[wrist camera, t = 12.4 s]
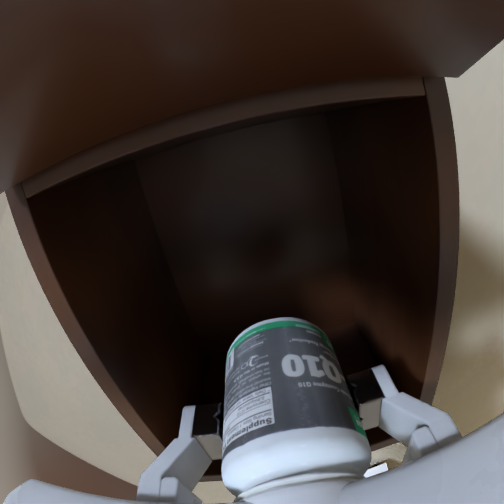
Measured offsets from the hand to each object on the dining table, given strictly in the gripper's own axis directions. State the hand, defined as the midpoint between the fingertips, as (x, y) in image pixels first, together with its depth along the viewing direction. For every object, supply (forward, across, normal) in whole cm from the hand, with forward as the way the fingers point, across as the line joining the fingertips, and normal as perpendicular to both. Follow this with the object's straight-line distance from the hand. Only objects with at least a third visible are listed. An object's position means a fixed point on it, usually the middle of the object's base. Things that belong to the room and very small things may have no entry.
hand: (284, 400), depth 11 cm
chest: (+10, 0, -3) cm, 10 cm away
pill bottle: (+3, 0, 0) cm, 3 cm away
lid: (-9, 0, -13) cm, 16 cm away
